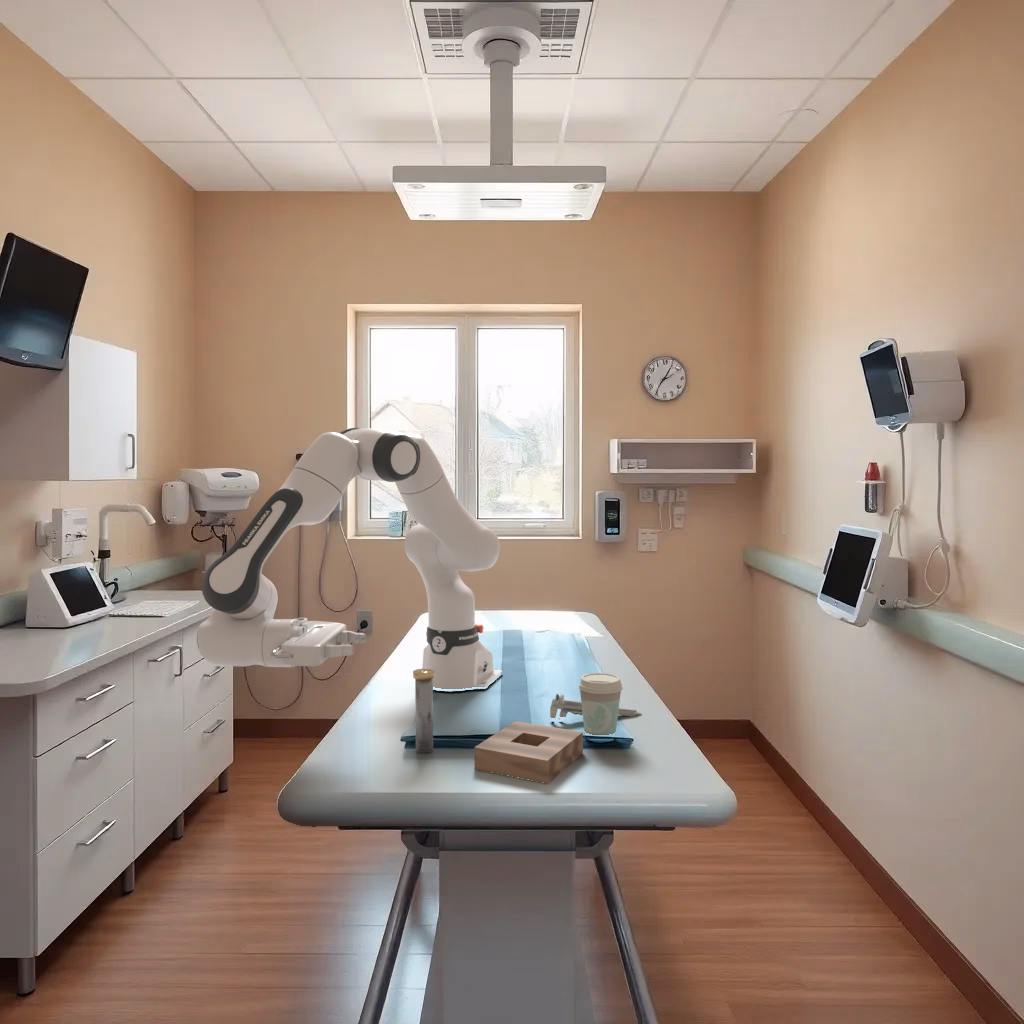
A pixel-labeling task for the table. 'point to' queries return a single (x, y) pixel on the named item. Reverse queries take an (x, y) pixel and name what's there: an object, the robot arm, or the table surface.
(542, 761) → the walnut block
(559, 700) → the caliper
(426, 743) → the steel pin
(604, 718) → the coffee cup
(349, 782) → the table surface
